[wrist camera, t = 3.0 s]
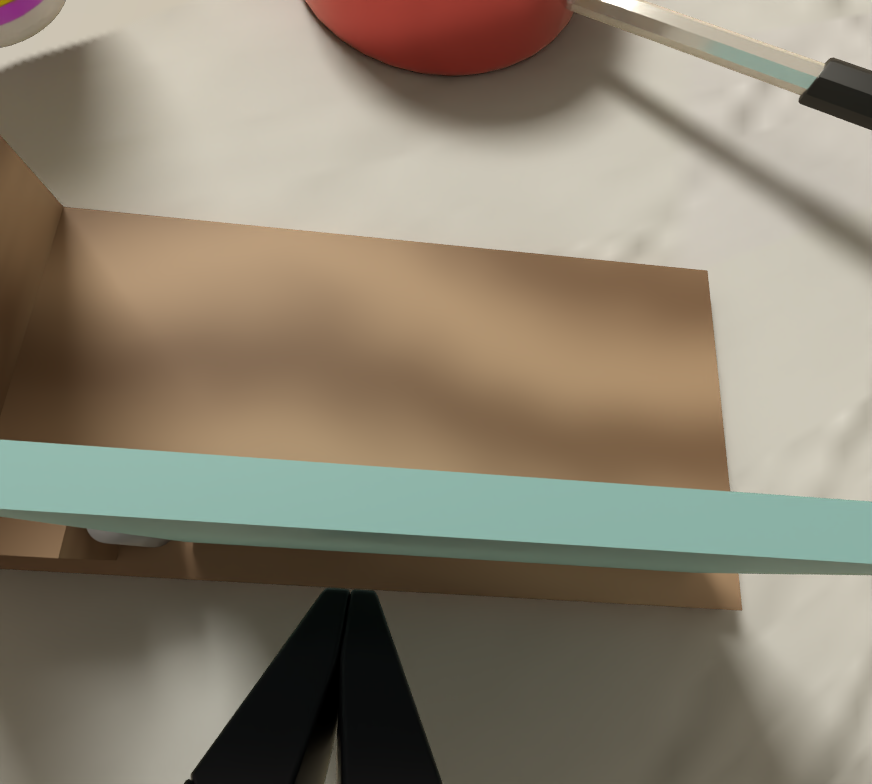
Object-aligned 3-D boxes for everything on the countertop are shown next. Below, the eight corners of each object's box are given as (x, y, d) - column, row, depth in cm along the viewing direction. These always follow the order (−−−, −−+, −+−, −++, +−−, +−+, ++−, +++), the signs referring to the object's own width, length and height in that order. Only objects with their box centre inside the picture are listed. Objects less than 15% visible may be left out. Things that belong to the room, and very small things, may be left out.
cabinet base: (722, 608, 18) (1313, 677, 7) (-64, 563, 16) (-1095, 552, 5) (693, 283, 22) (1042, -38, 10) (43, 220, 20) (-414, -248, 8)
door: (692, 579, 17) (1102, 594, 7) (130, 546, 16) (-265, 510, 6) (688, 535, 18) (1073, 493, 8) (140, 500, 16) (-218, 398, 7)
